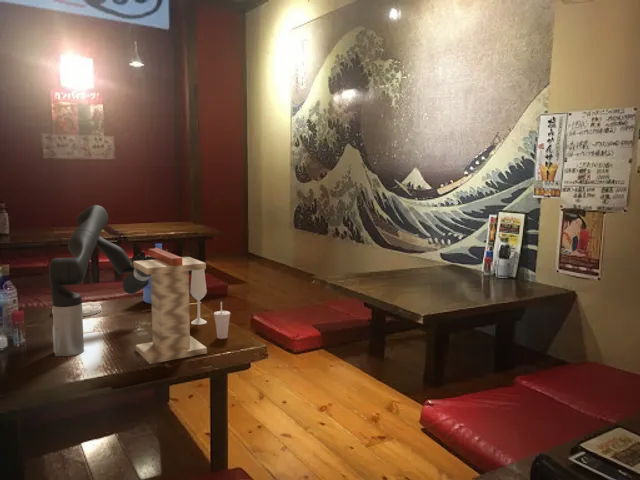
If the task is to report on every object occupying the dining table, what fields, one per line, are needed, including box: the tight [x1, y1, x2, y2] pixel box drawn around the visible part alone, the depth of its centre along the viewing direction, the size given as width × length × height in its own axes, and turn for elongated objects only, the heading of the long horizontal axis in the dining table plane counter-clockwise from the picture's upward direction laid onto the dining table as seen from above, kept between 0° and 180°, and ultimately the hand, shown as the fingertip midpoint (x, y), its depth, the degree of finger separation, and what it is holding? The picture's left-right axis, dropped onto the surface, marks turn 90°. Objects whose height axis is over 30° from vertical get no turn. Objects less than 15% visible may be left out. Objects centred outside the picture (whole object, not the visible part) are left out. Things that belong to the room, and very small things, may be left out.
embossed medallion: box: [52, 301, 102, 317], centre depth 237 cm, size 20×20×3 cm
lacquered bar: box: [148, 247, 182, 266], centre depth 187 cm, size 4×26×2 cm, turn 34°
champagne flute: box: [189, 269, 208, 325], centre depth 222 cm, size 7×7×24 cm
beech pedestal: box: [133, 256, 208, 365], centre depth 185 cm, size 20×16×32 cm
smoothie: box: [213, 301, 231, 340], centre depth 203 cm, size 6×6×14 cm
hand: (155, 252), depth 195 cm, fingers open, 8 cm apart
